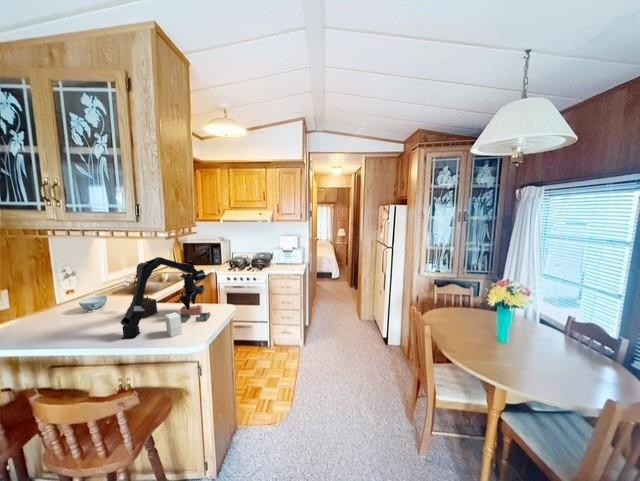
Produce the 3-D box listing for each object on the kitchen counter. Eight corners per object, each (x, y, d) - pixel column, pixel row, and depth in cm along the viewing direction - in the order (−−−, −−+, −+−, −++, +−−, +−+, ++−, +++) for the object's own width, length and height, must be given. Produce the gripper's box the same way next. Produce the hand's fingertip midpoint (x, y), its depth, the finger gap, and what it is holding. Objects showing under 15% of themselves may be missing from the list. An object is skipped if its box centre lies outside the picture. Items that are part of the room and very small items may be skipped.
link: (181, 316, 173) (180, 307, 172) (183, 314, 176) (182, 305, 176) (200, 315, 174) (200, 306, 173) (202, 313, 178) (201, 304, 177)
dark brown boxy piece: (158, 312, 180) (156, 286, 178) (143, 318, 169) (140, 291, 167) (141, 310, 185) (138, 284, 182) (125, 316, 174) (122, 289, 172)
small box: (182, 334, 148) (180, 315, 146) (171, 337, 144) (169, 318, 143) (177, 329, 153) (176, 311, 152) (166, 332, 150) (164, 314, 148)
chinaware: (101, 305, 196) (100, 294, 195) (112, 308, 190) (111, 297, 189) (75, 312, 183) (74, 301, 182) (87, 315, 176) (85, 304, 175)
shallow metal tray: (175, 323, 162) (174, 319, 162) (180, 317, 170) (180, 314, 169) (206, 321, 164) (206, 317, 163) (210, 316, 171) (210, 312, 171)
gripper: (197, 286, 164) (199, 311, 166) (206, 278, 183) (208, 301, 184) (178, 287, 163) (180, 312, 165) (189, 279, 182) (191, 301, 183)
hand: (191, 306), depth 174 cm, fingers open, 9 cm apart
